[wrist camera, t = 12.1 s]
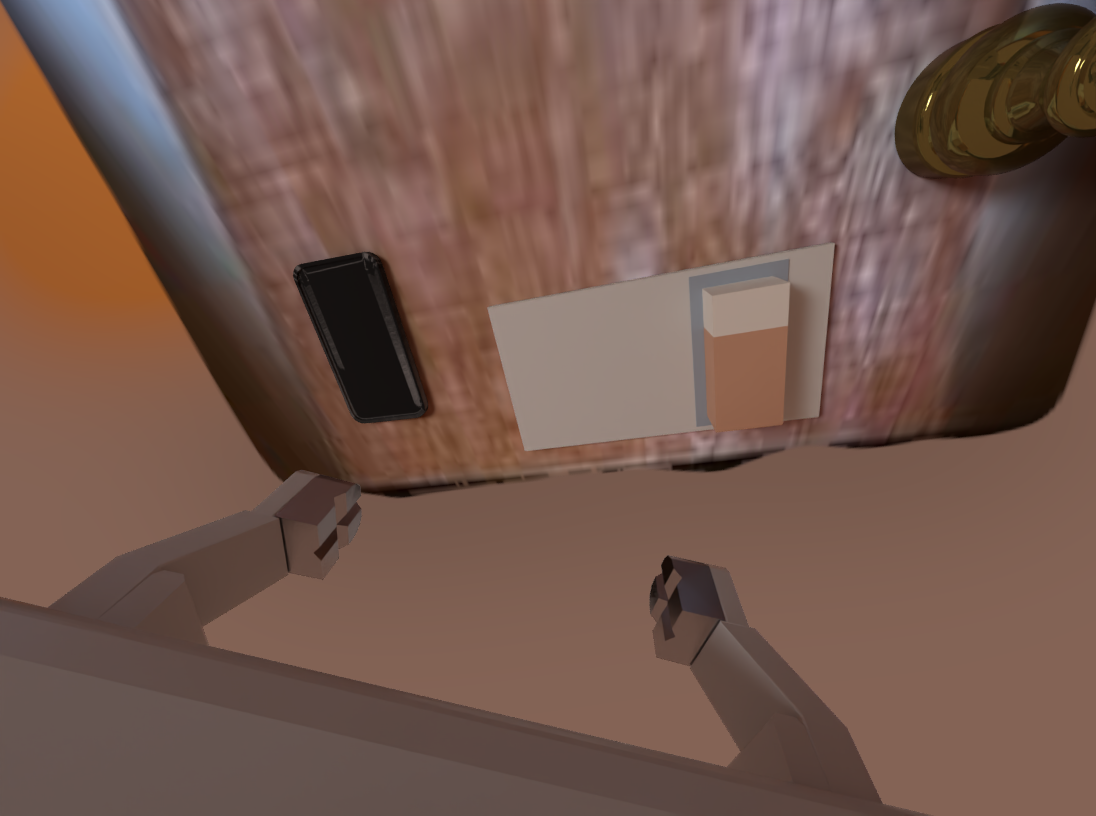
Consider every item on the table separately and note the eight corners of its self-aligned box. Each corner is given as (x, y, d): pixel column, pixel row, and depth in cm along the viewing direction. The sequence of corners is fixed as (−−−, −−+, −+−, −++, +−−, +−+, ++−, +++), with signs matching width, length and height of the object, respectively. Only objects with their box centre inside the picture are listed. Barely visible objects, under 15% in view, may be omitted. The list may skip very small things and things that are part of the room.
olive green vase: (920, 205, 28) (1076, 203, 19) (868, 110, 26) (1014, 57, 17) (1048, 114, 25) (1303, 60, 16) (1001, 0, 23) (1260, -135, 14)
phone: (372, 250, 32) (427, 416, 38) (379, 249, 33) (432, 411, 39) (287, 266, 33) (353, 424, 40) (296, 265, 34) (359, 419, 41)
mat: (489, 306, 34) (487, 308, 33) (830, 242, 29) (835, 243, 28) (525, 447, 40) (524, 451, 39) (815, 413, 35) (819, 417, 34)
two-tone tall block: (768, 408, 34) (783, 424, 32) (707, 415, 35) (716, 432, 33) (772, 275, 30) (790, 282, 27) (702, 288, 31) (712, 296, 28)
